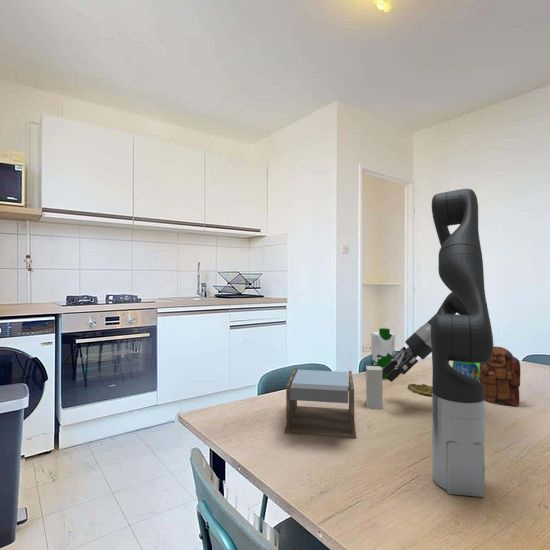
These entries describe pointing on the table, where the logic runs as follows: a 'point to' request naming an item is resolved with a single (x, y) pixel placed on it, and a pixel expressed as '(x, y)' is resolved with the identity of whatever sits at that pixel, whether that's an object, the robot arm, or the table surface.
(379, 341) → the milk carton
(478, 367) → the green blue printed box
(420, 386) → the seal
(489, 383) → the wooden figurine
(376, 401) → the grey stone pillar
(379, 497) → the table surface
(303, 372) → the trapdoor
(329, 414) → the trapdoor stand
